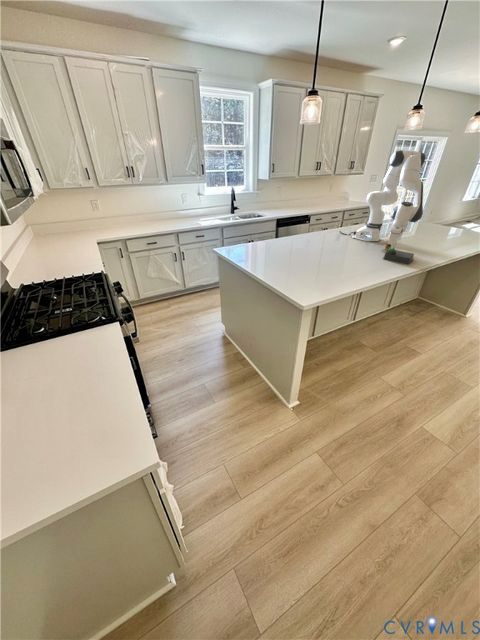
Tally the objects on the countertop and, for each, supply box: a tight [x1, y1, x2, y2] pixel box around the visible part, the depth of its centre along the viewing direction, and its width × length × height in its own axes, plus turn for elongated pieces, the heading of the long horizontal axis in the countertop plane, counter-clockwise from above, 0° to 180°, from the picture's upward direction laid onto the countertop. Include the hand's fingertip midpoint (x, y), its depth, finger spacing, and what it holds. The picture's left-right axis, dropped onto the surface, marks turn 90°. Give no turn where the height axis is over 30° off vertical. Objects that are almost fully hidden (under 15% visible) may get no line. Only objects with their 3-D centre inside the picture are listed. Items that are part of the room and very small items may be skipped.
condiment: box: [382, 235, 391, 253], centre depth 198 cm, size 7×8×12 cm
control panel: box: [383, 249, 415, 265], centre depth 185 cm, size 17×13×6 cm
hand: (392, 248), depth 183 cm, fingers closed
